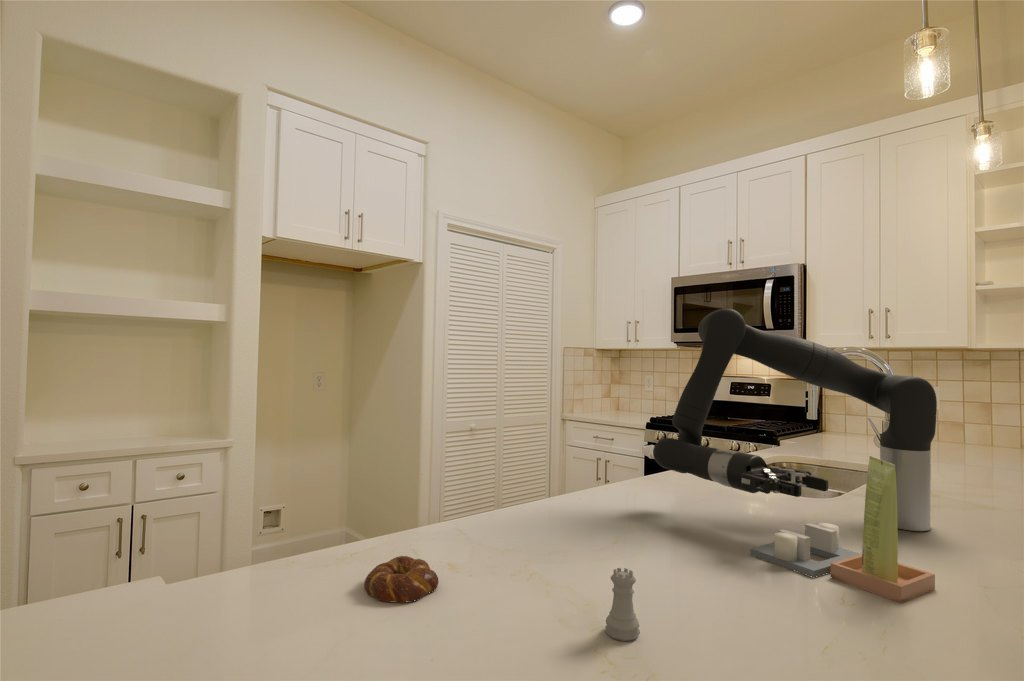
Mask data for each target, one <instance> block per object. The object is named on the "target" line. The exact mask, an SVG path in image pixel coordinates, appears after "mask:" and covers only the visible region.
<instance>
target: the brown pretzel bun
mask: <svg viewBox="0 0 1024 681" xmlns="http://www.w3.org/2000/svg"><path fill="white" fill-rule="evenodd" d="M438 585H439V577H438V575H437V572H435V571H434V570H433V569H431V568H430V565H429V564H428V562H427V561H426V560H425V559H421V558H417V559H415V558H413V557H410V556H407V555H400V556H395V557H394V558H392V559H390V560H388V561H386V562H383V563H380V564H377V565H376V566H375V567H374V568H373V569H372V570H371V571H370V572H369V573H368V574H367V576H366V577H365V579H364V582H363V588H364V590H365V592H366V593H367V594H368V593H369V594H371V595H373V596H372V597H374V596H375V597H374V598H375V599H376V600H378V599H379V600H378V601H381V600H383V601H382V602H386V601H396V602H395V603H399V602H406V601H413V602H415V601H414V600H417V599H419V600H421V599H423V598H424V597H425V596H426V595H428V594H427V593H429V592H432V591H433V592H435V591H436V590H437V588H438ZM434 590H435V591H434ZM433 592H432V593H433ZM369 594H368V595H369ZM425 594H426V595H425ZM429 594H430V593H429ZM371 595H370V596H371ZM424 595H425V596H424ZM420 598H421V599H420ZM417 601H418V600H417ZM406 603H407V602H406Z"/></svg>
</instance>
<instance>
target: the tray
mask: <svg viewBox="0 0 1024 681" xmlns="http://www.w3.org/2000/svg"><path fill="white" fill-rule="evenodd" d="M831 577H832V578H831ZM830 578H831V579H833V578H834V579H833V580H835V579H836V581H838V580H839V582H842V583H844V584H847V585H849V586H852V585H853V587H855V586H856V587H855V588H858V587H859V589H861V590H864V591H867V592H870V593H872V594H875V595H878V596H881V597H883V598H886V599H889V600H892V601H895V602H896V603H897V602H898V603H901V604H903V603H905V602H907V601H910V600H912V599H916V598H917V597H919V596H922V595H924V594H926V593H929V592H932V591H934V590H936V573H932V572H929V571H925V570H922V569H919V568H916V567H913V566H909V565H906V564H903V563H899V562H898V581H897V583H894V582H891V581H888V580H885V579H882V578H879V577H876V576H873V575H870V574H867V573H864V572H862V553H860V554H859V555H856V556H853V557H849V558H846V559H843V560H839V561H836V562H833V563H831V573H830Z"/></svg>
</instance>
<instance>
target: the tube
mask: <svg viewBox="0 0 1024 681" xmlns="http://www.w3.org/2000/svg"><path fill="white" fill-rule="evenodd" d="M868 457H869V459H868V460H869V461H868V466H867V474H866V484H865V487H866V488H865V499H864V511H863V512H864V514H863V531H862V549H861V550H862V551H861V554H862V572H864V573H867V574H870V575H873V576H876V577H879V578H882V579H885V580H888V581H891V582H894V583H897V581H898V563H899V558H898V557H899V552H898V551H899V550H898V547H899V546H898V543H899V542H898V538H899V537H898V534H899V533H898V528H897V489H896V472H895V465H894V464H891V463H888V462H886V461H883V460H880V458H878V457H874V456H872V455H869V456H868Z"/></svg>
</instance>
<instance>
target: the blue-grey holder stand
mask: <svg viewBox="0 0 1024 681" xmlns="http://www.w3.org/2000/svg"><path fill="white" fill-rule="evenodd" d="M749 551H750V554H749V555H750V556H753V557H755V558H757V559H760V560H764V561H766V562H769V563H772V564H774V565H776V566H777V565H778V566H779V567H782V566H783V568H785V567H786V568H785V569H788V568H789V569H788V570H790V569H792V570H791V571H793V570H795V571H794V572H796V571H798V572H797V573H799V572H800V573H799V574H801V573H804V574H807V575H809V576H808V577H810V576H812V577H816V576H819V575H822V576H824V575H823V574H825V575H827V574H826V573H829V574H831V573H830V572H831V563H833V562H836V561H839V560H843V559H846V558H849V557H853V556H856V555H859V554H861V552H857V551H854V550H849V549H847V548H843V547H841V546H840V528H839V526H838V525H836V524H833V523H826V522H818V523H816V524H813V523H806V524H804V534H801V533H797V532H793V531H791V530H787V529H785V528H783V529H779V530H778V532H776V533H774V542H770V543H766V544H763V545H759V546H758V545H757V546H754V547H750V550H749ZM810 552H812V553H810ZM813 553H815V554H814V555H816V554H817V556H820V555H821V556H820V557H823V556H824V557H823V558H826V557H827V558H826V559H825V560H821V561H815V560H813V559H811V554H813ZM829 558H831V559H829ZM804 574H803V575H804ZM807 575H806V576H807ZM812 577H811V578H812ZM819 577H820V576H819ZM816 578H817V577H816Z"/></svg>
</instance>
